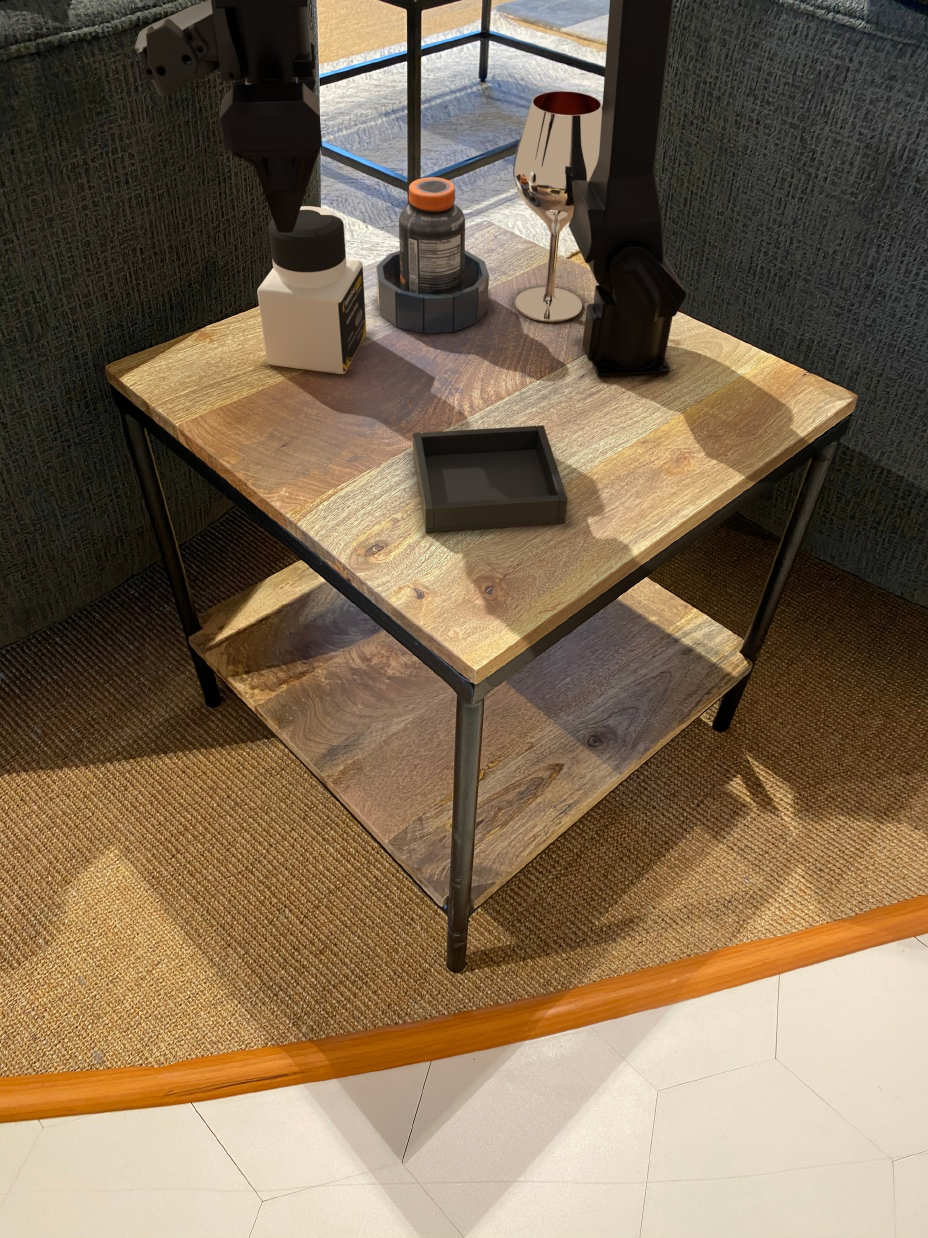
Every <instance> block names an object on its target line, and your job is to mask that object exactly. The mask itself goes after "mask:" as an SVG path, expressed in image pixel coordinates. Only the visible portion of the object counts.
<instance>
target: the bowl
mask: <svg viewBox="0 0 928 1238" xmlns="http://www.w3.org/2000/svg"><path fill="white" fill-rule="evenodd" d="M375 269H376V292H377V294H376V295H377V305H378V313H379V315H380V317H382V318H383V319H385V320H386V321H387V322H389V324H391V325H393V326H394V327H396V328H399V329H403V330H407V331H412V332H416V333H420V334H442V333H443V334H444V333H455V332H457V331H460V330H462V329H466V328H468V327H471V326H474V325H476V324H477V323H479V321H480V320H481V319H482V318H483V316H484V315H485V314H486V313H487V312H488V307H489V285H490V284H489V283H490V274H489V271H488V268H487V264H486V262H485V260H483V259H481V258H480V257H478V256H477V255H475V254H473V253H472V252H470V251H469V250H466V249H465V278H464V290H461V291H458V292H456V293H453V294H438V295H422V294H417V293H413V292H408V291H404V290H401V278H400V249H399V250H396V251H394V252H391V253H389V254H388V253H387V255H386V256H385V257H384V258H383V259H382V260H381V261H380V262H379V263H378V264H376V268H375Z"/></svg>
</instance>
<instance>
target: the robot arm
mask: <svg viewBox="0 0 928 1238" xmlns="http://www.w3.org/2000/svg"><path fill="white" fill-rule="evenodd" d="M674 2H675V0H609V5H608V6H609V7H608V21H607V37H606V49H605V65H604V78H603V94H602V119H601V134H600V148H599V157H598V161H597V165H596V167H595V169H594V171H593V173H592V175H591V178H590V180H589V181H581V180H573V182H572V190H573V198H574V210H573V216H572V218H571V221H570V222H569V223H568V224H567V225H568V228H569V230H570V233H571V235H572V237H573V240H574V241H575V243H576V246H577V247H578V250H579V252H580V254H581V256H582V258H583V261H584V262H585V264H587V265H588V268H589V269H590V272H591V273H592V275H593V278H594V279H595V282H596V283H597V284H596V285H595V286H594V287H595V288H594V296H593V303H589V304H588V305H587V306H586V310H585V311H586V312H585V320H584V327H583V335H582V345H581V346H582V348H583V351H584V353H585V357H586V359H587V361H589V362H590V363H591V365H592V368H593V370H594V372H595V375H596V377H598V378H600V379H613V378H615V379H616V378H632V377H646V376H647V377H651V376H652V377H653V376H667V375H669V374H670V372H671V366H670V364H669V362H668V360H667V358H666V354H667V349H668V345H669V344H668V343H669V339H670V334H671V327H672V322H673V318H674V317H675V316H677V314H678V313H679V311H680V309H681V307H682V305H683V303H684V302H685V300H686V298H687V292H686V289H685V288H684V286H683V285H682V283H681V281H680V280H679V278H678V275H676V273H675V271H674V270H673V268H672V266H671V264H670V263H669V261H668V260H667V258H666V256H665V237H664V219H663V214H662V213H663V212H662V207H661V201H660V196H659V190H658V183H657V177H656V163H657V155H658V147H659V137H660V129H661V120H662V111H663V103H664V94H665V84H666V83H665V82H666V76H667V75H666V74H667V68H668V67H667V66H668V58H669V57H668V56H669V48H670V47H669V46H670V39H671V32H672V31H671V30H672V23H673V22H672V21H673V12H674V11H673V10H674V4H675V3H674ZM308 7H309V6H308V0H206V1H204V2H201V3H197V4H195V5H192V6H190V7H187V8H185V9H183V10H180V11H179V12H176V13H174V14H172V15H170V16H167V17H165V18H163V19H160V20H158V21H156V22H154V23H151V24H149V25H148V26H146V27H144V28H143V29H142V30H140V31H139V33H138V36H137V39H136V42H135V45H134V50H135V52H136V54H137V55H138V58H139V60H140V61H141V66H142V69H141V72H142V76H143V77H144V78H145V79H146V80H150V81H151V82H152V84H153V85H154V86H153V87H155V89H156V91H157V93H158V95H159V96H160V97H168V96H171V95H173V94H176V93H178V91H179V88H181V87H184V86H186V85H187V84H190V83H192V82H195V81H197V80H199V79H201V78H204V77H206V76H209V75H211V74H213V73H215V72H216V71H217V70H219V72H220V79H221V81H222V82H233V85H232V86H231V88H230V89H229V91H227V93H226V94H225V96H224V97H223V98H222V100H221V105H220V114H219V115H220V116H219V122H220V129H221V134H222V142H223V149H224V150H225V151H227V152H229V154H231V155H232V156H233V157H234V158H237V159H241V160H243V161H244V162H246V163H247V164H249V165H250V166H251V167H252V168H253V169H254V171H255V173H256V176H257V178H258V181H259V184H260V187H261V189H262V192H263V195H264V197H265V200H266V203H267V206H268V209H269V212H270V214H271V217H272V219H273V220H274V223H275V225H276V228H277V231H278V232H279V233H291V232H293V230H294V227H295V224H296V221H297V218H298V215H299V211H300V208H301V206H302V205H303V202H304V198H305V195H306V193H307V189H308V186H309V184H310V180H311V177H312V174H313V172H314V168H315V166H316V162H317V159H318V156H319V155H320V153H321V148H322V147H323V137H322V126H321V123H322V122H321V112H320V102H319V99H320V98H319V97H318V96H317V95H316V94H315V93H314V91H315V88H316V87H315V86H316V80H317V79H316V71H315V70H317V68H316V67H317V65H316V54H315V41H314V32H313V30H312V29H311V28H310V21H309V8H308Z"/></svg>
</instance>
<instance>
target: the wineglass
mask: <svg viewBox="0 0 928 1238" xmlns="http://www.w3.org/2000/svg"><path fill="white" fill-rule="evenodd" d="M602 105H603V103H602V102H601V100H599V99H598V97H597V98H596V97H595V96H592V95H590V94H587V93H583V92H578V91H571V90H553V91H547V92H543V93H540V94H538V95H536V96H534V97H533V98H532V100H531V104H530V107H529V110H528V113H527V115H526V119H525V121H524V125H523V127H522V131H521V134H520V137H519V140H518V145H517V148H516V152H515V156H514V161H513V166H512V167H513V168H512V176H513V183H514V186H515V188H516V192H517V193H518V195H519V197H520V198H521V199H522V201H523V202H524V204H525V205H526V206H527V207H528V208H529V210H531V211H532V212H533V213H534V214H535V215H536V216H537V217H539V219H540V220H541V221H543V223H544V224H545V225H546V227H547V229H548V231H549V246H548V249H549V250H548V260H547V271H546V281H545V286H541V287H540V286H539V287H533V288H529V289H526V290H524V291H522V292H520V293H519V294H518V295H517V296H516V298H515V300H514V306H515V308H516V310H517V311H518V313H520V314H521V315H522V316H524V317H526V318H528V319H531V320H533V321H534V320H535V321H537V322H543V323H560V322H566V321H569V320H571V319H574V318H576V317H577V316H578V315H579V314H581V312H582V309H583V303H582V301H581V299H580V298H579V296H577V295H576V294H575V293H573V292H570V291H569V290H566V289H563V288H558V287H556V273H557V261H558V253H559V251H558V250H559V241H560V234H561V232H562V231H563V229H564V228H565V227H567V225H569V223H570V221H571V218H572V216H573V210H574V198H573V190H572V182H573V180H581V181H589V180H590V178H591V175H592V173H593V171H594V169H595V167H596V165H597V161H598V157H599V148H600V134H601V119H602Z"/></svg>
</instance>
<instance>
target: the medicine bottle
mask: <svg viewBox="0 0 928 1238" xmlns="http://www.w3.org/2000/svg"><path fill="white" fill-rule="evenodd" d="M268 235H269V236H268V237H269V244H270V251H271V260H272V261H271V262H272V267H273V268H272V269H271V270H270V271H269V273H268V274H267V276H266V277H265V278H264V280H263V281H262V282H261V284H259V285H260V286H259V287H258V288H257V301H258V308H259V315H260V323H261V328H262V329H261V330H262V336H263V346H264V351H265V358H266V363H267V364H268V365H270V366H275V367H276V366H277V367H284V368H292V369H299V370H306V371H314V372H320V373H321V372H322V373H328V374H336V375H344V374H346V373H347V371H348V370H349V367H350V366H351V364H352V362H353V360H354V358H355V356H356V354H357V352H358V350H359V349H360V347H361V345H362V343H363V342H364V339H365V338H366V335H367V319H366V302H365V299H366V298H365V284H364V281H365V279H364V264H363V262H362V261H361V260H358V259H351V258H350V259H349V258H347V253H346V237H345V223H344V221H343V219H342V218H341V217H340V215H338V214H337V213H335V212H334V211H332V210H329V209H326V208H324V207H323V208H322V207H318V206H311V205H305V206H304V205H303V206H302V205H301V208H300V211H299V215H298V218H297V221H296V224H295V227H294V230H293V232H291V233H279V232H278V231H277V228H276V225H275V223H274V220H273V218H271V220H270V221H269V223H268Z"/></svg>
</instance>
